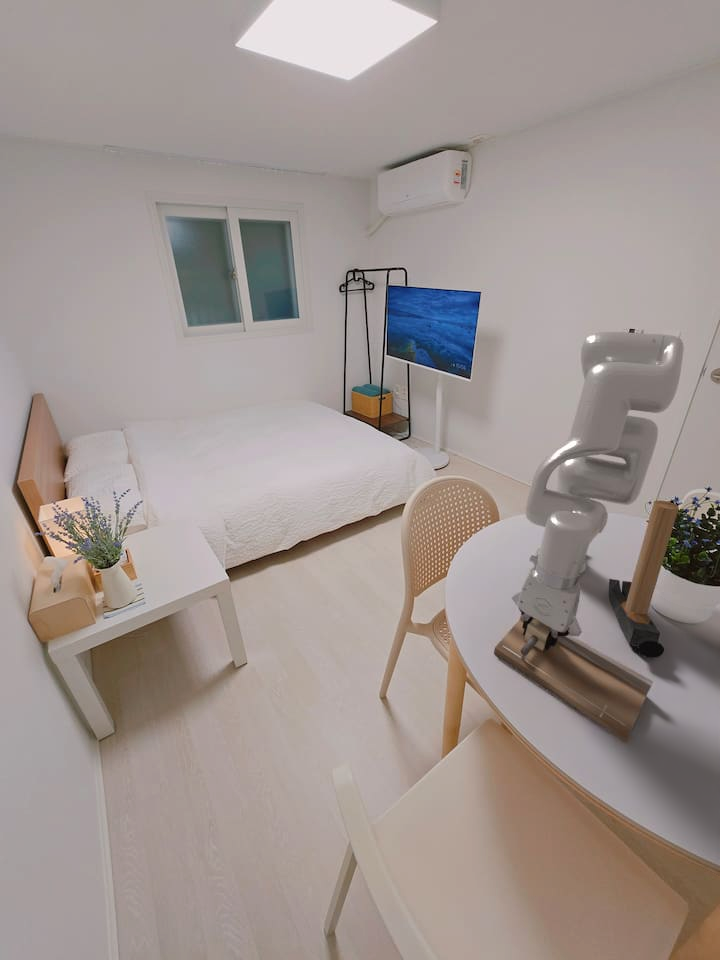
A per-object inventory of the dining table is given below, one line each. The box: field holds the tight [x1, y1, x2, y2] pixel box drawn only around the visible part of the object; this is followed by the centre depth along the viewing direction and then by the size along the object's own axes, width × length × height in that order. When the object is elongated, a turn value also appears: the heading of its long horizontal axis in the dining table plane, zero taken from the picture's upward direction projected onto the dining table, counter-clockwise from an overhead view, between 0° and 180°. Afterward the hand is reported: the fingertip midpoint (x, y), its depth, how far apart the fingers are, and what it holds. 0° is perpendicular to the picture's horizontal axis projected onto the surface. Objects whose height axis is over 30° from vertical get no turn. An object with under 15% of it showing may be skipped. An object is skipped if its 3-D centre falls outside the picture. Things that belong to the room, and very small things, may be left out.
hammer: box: [608, 500, 679, 659], centre depth 86 cm, size 20×5×30 cm, turn 165°
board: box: [493, 612, 654, 743], centre depth 79 cm, size 12×25×4 cm, turn 44°
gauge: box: [521, 618, 551, 659], centre depth 83 cm, size 9×4×4 cm, turn 134°
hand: (538, 637), depth 85 cm, fingers closed on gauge, 4 cm apart
